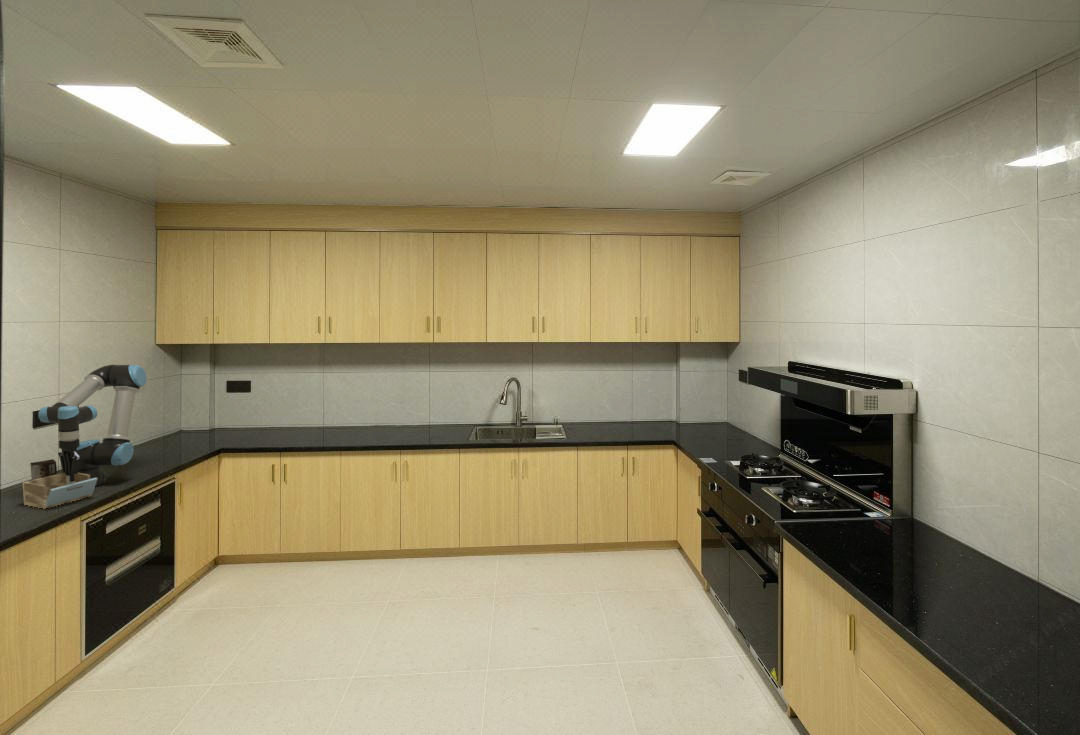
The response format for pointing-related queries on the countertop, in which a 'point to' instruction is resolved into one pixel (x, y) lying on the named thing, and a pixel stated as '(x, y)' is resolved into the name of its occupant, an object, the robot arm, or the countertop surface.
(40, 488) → the crate
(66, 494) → the panel
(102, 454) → the robot arm
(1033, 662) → the countertop surface
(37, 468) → the coffee box
